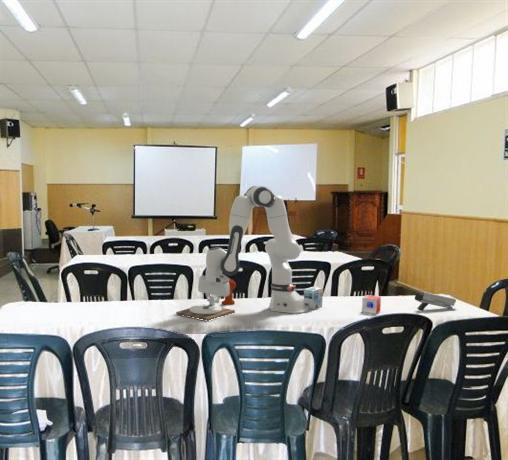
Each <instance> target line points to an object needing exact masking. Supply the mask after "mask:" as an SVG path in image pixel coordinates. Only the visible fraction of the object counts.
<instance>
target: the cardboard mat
mask: <svg viewBox="0 0 508 460" xmlns="http://www.w3.org/2000/svg"><path fill="white" fill-rule="evenodd" d="M202 305H206V304H202ZM221 308H222V311H221V312H219V313H216V314H208V315H201V314H194V313H191V312H190V307H189V308H186V309H183V310H179V311H176V312H175V315H176V314H177V315H176V316H179V315H184V316H190V317H194V318H199V319H203V320H207V321H208V322H210V321H209V320H211V319H214V318H217V317H221V316H224V317H226V316H225V315H227V316H230V315H233V314H235V312H236V311H235V309H232V308H231V309H230V308H225V307H221ZM232 313H233V314H232ZM229 314H230V315H229ZM184 316H183V317H184ZM221 318H222V317H221ZM203 320H202V321H203ZM214 320H215V319H214ZM207 321H206V322H207ZM211 321H212V320H211Z"/></svg>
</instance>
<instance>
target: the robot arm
mask: <svg viewBox="0 0 508 460" xmlns="http://www.w3.org/2000/svg"><path fill="white" fill-rule="evenodd" d="M256 207H262V208H264V209H265V213H266V219H267V224H268V230H269V232H270V233H271V235H272V237H273V238H271V239H268V240H267V241H266V242H265V247H264V249H265V252H266V253H267V255H268V257H269V261H270V264H271V285H270V288H271V289H270V291H271V295H270V302H269V306H268V309H270V311H271V312H278V313H279V312H280V313H285V314H287V313H288V314H295V315H297V314H298V315H299V314H303V313H306V312H308V311H310V309H309V308H308V307H305V304H304V297H302V296H301V295H300V294H299V293H298V292H297V291H296V289H295V288H296V284H293V282H292V281H293V270H292V267H291V266H290V264H289V261H292V260H296V259H297V258H299V256H300V254H301V247H300V245H299V244H298V241H296V240H295V238H294V235H293V233H292V231H291V228H290V225H289V220H288V213H287V209H286V208H287V207H286V205H285V201H284V199H283V197H282V196H281V195H278V194H274V193H273V191H272V190H271V189H270V188H269V187H267V186H262V185H253V186H250V187H249V188H248V190H246V192H245V193H244V194H242V195H238V196H235V198H234V200H233V203H232V206H231V210H230V212H229V213H230V214H229V218H228V230H229V240H228V245H227V250H224V249H223V248H222V247H218V246H216V247H211V248H209V249H208V250H207V251H206V256H205V265H206V270H205V275H204V274H203V275H200V276H199V278H198V284H197V285H198V286H197V291H198V292H199V293H204V294H205V296H206V301H207V302H209V296H211V295H212V296H216V298H215V304H220V299H221V298H222V297H223V298H225V297H226V296H229V294H230V285H229V283H228V282H229V280H230V277H229V276H235V275H236V274H237V273H238V272H239V270H240V269H241V268H240V267H241V263H240V259H239V254H240V249H241V243H242V240H243V238H244V236H245V233H246V231H247V230H248V227H249V224H250V220H251V216H252V211H253V209H254V208H256Z"/></svg>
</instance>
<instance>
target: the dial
mask: <svg viewBox="0 0 508 460" xmlns="http://www.w3.org/2000/svg"><path fill="white" fill-rule="evenodd" d="M215 300H216V295H209V304H205V305H203V304H197V305H194V306H190V307H189V308H190V312H191V313H194V314H201V315H208V314H216V313H219V312H221V311H222V308H223V307H221V306H220V305H216V303H215Z"/></svg>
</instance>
